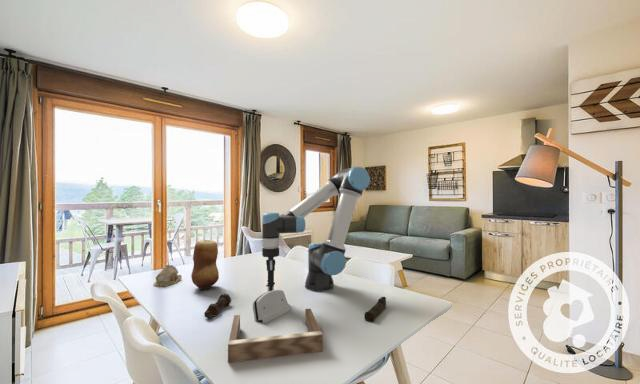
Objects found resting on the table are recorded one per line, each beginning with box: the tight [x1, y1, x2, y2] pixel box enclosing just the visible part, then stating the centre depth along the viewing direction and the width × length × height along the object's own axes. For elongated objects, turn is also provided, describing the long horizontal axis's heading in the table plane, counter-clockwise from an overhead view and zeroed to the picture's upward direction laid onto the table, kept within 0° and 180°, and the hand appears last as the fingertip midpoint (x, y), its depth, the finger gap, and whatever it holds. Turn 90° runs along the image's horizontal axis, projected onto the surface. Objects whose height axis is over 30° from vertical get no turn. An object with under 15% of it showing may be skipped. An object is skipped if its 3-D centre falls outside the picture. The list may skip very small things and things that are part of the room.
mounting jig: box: [227, 308, 324, 364], centre depth 95 cm, size 28×21×5 cm
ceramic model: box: [153, 264, 182, 287], centre depth 158 cm, size 14×11×10 cm
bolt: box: [204, 293, 232, 319], centre depth 118 cm, size 6×5×15 cm
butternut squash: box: [190, 239, 220, 291], centre depth 148 cm, size 14×13×25 cm
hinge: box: [252, 289, 292, 324], centre depth 115 cm, size 17×5×10 cm, turn 146°
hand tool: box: [363, 296, 387, 323], centre depth 115 cm, size 19×4×5 cm, turn 146°
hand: (270, 300), depth 126 cm, fingers closed
